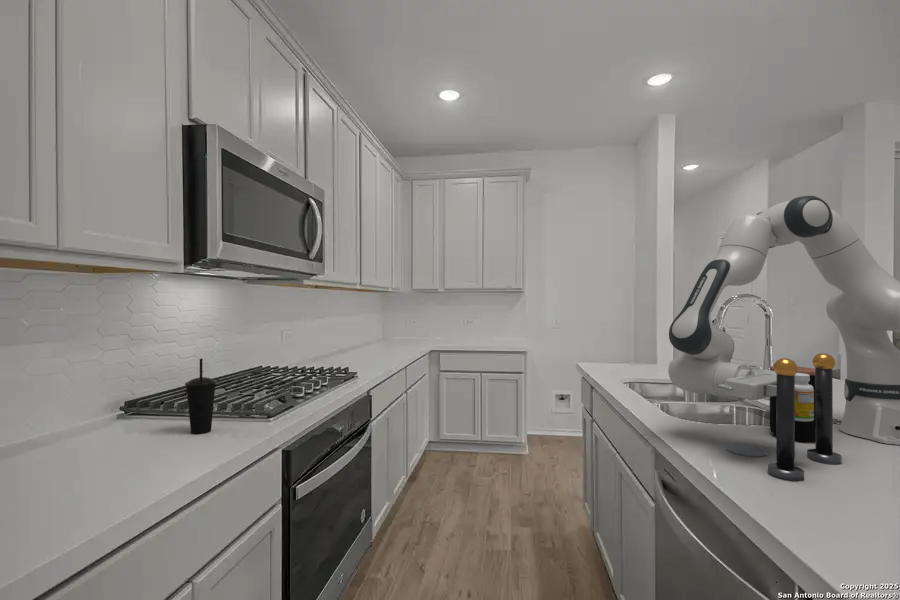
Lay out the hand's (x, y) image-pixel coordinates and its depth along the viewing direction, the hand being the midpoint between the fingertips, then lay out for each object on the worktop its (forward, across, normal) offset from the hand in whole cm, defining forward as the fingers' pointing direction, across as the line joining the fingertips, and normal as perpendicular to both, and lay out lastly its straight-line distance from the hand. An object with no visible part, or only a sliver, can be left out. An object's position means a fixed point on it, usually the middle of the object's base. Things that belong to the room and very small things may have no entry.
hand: (802, 391), depth 98 cm
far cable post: (+1, +9, +16) cm, 18 cm away
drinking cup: (-97, -111, +16) cm, 148 cm away
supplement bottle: (-1, 0, +6) cm, 6 cm away
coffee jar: (-11, +23, +17) cm, 30 cm away
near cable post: (0, -9, +16) cm, 19 cm away
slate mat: (-12, 0, +16) cm, 20 cm away
